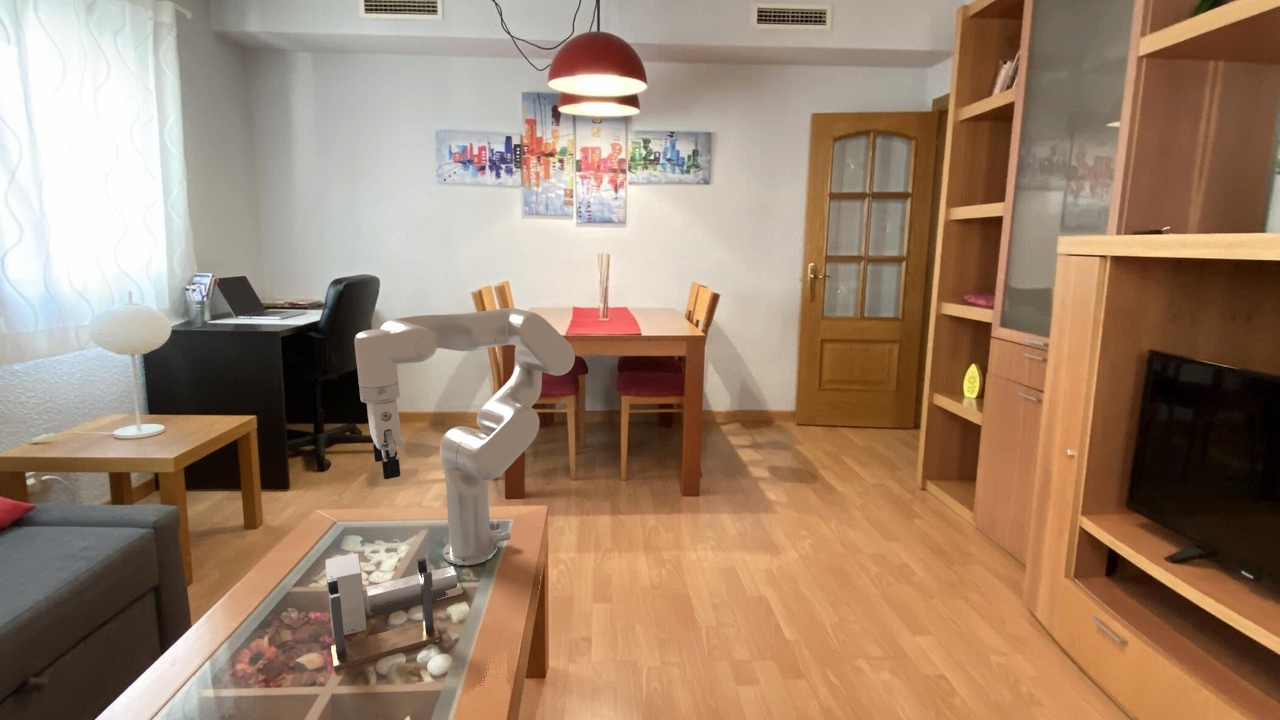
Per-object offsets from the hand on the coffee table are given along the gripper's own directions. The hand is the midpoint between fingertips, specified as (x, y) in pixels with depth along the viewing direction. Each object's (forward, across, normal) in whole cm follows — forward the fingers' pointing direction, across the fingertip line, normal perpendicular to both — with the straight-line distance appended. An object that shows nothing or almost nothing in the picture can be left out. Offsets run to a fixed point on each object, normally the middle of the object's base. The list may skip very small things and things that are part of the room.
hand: (387, 468), depth 144 cm
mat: (+28, -6, -2) cm, 29 cm away
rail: (+28, -6, -2) cm, 28 cm away
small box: (+28, -8, +12) cm, 32 cm away
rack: (+28, -19, +6) cm, 35 cm away
